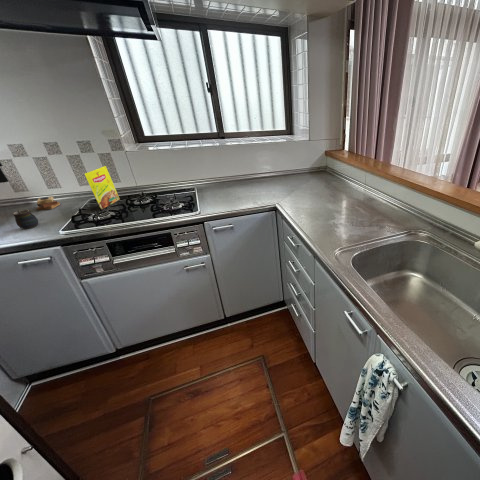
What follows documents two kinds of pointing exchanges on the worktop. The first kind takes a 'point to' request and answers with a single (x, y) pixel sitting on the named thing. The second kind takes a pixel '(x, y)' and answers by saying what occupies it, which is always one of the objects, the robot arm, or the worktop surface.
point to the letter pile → (46, 203)
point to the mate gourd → (25, 219)
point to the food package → (102, 187)
